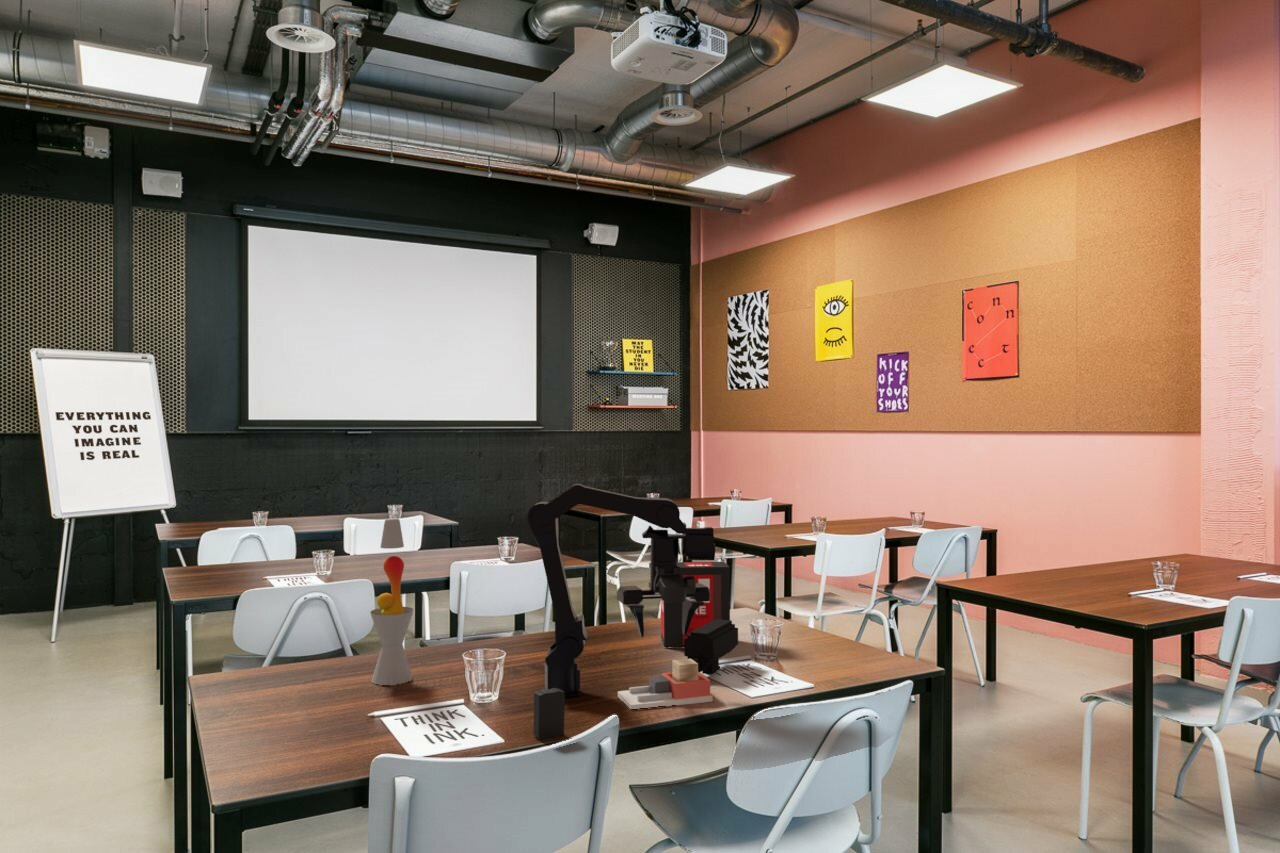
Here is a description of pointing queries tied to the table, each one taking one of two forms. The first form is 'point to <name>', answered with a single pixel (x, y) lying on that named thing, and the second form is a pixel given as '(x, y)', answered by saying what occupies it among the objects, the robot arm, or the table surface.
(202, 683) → the table surface
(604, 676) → the table surface
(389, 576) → the lava lamp
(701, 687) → the slide switch base
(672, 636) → the cleaning product box
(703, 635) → the security camera
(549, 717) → the ink cartridge
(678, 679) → the block
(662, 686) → the toggle
